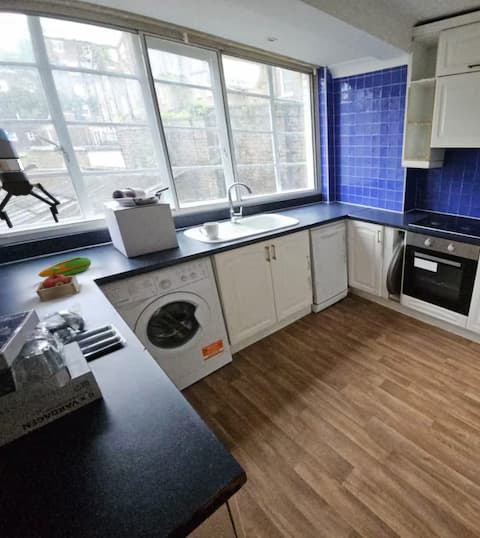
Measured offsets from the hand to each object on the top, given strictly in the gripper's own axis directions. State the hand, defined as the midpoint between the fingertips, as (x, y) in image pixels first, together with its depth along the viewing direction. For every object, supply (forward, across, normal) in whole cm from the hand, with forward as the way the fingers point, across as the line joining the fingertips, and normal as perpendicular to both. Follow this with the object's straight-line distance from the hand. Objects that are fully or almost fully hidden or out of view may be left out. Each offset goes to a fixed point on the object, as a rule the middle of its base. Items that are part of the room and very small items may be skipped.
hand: (35, 224), depth 123 cm
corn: (+28, -2, -14) cm, 31 cm away
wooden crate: (+28, -1, +11) cm, 30 cm away
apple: (+27, -1, +11) cm, 29 cm away
